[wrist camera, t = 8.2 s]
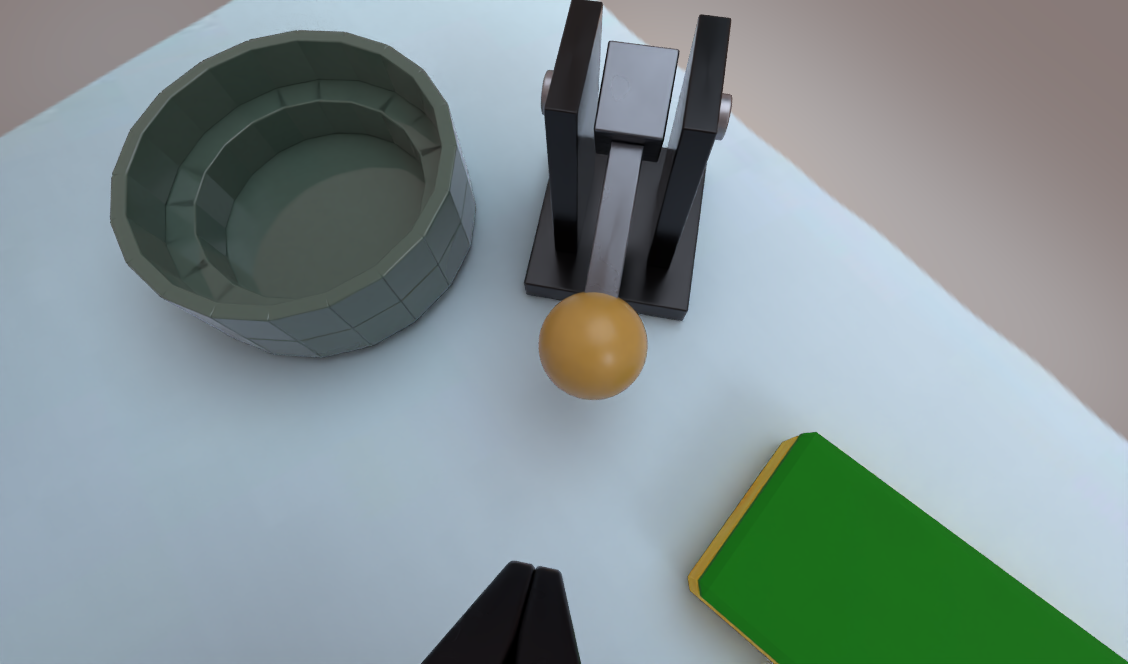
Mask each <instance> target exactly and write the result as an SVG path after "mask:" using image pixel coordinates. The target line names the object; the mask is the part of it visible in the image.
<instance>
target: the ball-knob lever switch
mask: <svg viewBox="0 0 1128 664" xmlns="http://www.w3.org/2000/svg"><path fill="white" fill-rule="evenodd" d="M602 10H603V3H602V2H598V1H590V0H571V4H570V8H569V12H568V16H567V20H566V24H565V28H564V32H563V36H562V39H561V43H560V47H559V51H558V55H557V59H556V63H555V67H554V70H547V72H546V74H545V77H544V81H543V86H542V95H541V110H542V114H543V115H544V116H545V129H546V141H547V154H548V167H549V180H548V184H547V188H546V193H545V197H544V201H543V205H542V209H541V214H540V218H539V222H538V226H537V230H536V235H535V239H534V243H533V247H532V251H531V256H530V260H529V264H528V268H527V272H526V277H525V281H524V285H525V290H526V294H528V295H534V296H539V297H545V298H551V299H557V300H564V299H565V298H567V297H569V296H571V295H574V294H577V293H580V292H585V286H586V280H587V274H588V269H589V263H590V257H591V251H592V246H593V240H594V234H595V228H596V222H597V217H598V211H599V205H600V199H601V194H602V188H603V182H604V176H605V171H606V165H607V159H608V155H603V154H597V153H596V150H595V139H594V129H593V128H594V123H595V117H596V111H597V105H598V92H599V71H600V51H601V31H602ZM730 27H731V18H726V17H718V16H710V15H700V16H699V17H698V22H697V26H696V30H695V34H694V39H693V43H692V47H691V51H690V56H689V60H688V64H687V68H686V72H685V76H684V81H683V85H682V89H681V93H680V97H679V102H678V106H677V110H676V114H675V119H674V123H673V127H672V131H671V135H670V140H669V144H668V148H663V147H662V149H661V152H660V156H659V159H658V162H650V161H643V160H642V164H641V170H640V175H639V181H638V187H637V192H636V198H635V204H634V210H633V215H632V221H631V227H630V232H629V238H628V244H627V249H626V255H625V261H624V267H623V272H622V278H621V284H620V289H619V295H618V297H619V298H620V299H622V300H624V301H625V302H626V303H628V304H629V305H630V306H631V307H632V308H633V309H634V310H635V311H636V313H639V314H645V315H651V316H657V317H663V318H669V319H674V320H680V321H682V320H683V319H684V317H685V315H686V313H687V311H688V305H689V297H690V290H691V282H692V274H693V266H694V259H695V251H696V243H697V235H698V227H699V220H700V212H701V204H702V196H703V189H704V181H705V173H706V165H707V161H708V158H709V155H710V152H711V150H712V147H713V144H714V141H715V140H722V139H723V137H724V135H725V132H726V129H727V125H728V122H729V117H730V113H731V107H732V95H730V94H724V93H722V91H723V84H724V75H725V67H726V59H727V51H728V43H729V35H730Z"/></svg>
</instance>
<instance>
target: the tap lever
mask: <svg viewBox="0 0 1128 664" xmlns="http://www.w3.org/2000/svg"><path fill="white" fill-rule="evenodd" d="M678 58H679V50H678V49H671V48H663V47H655V46H648V45H640V44H632V43H624V42H617V41H609V43H608V47H607V53H606V59H605V65H604V70H603V76H602V82H601V88H600V94H599V99H598V105H597V111H596V117H595V123H594V128H593V129H594V139H595V150H596V153H597V154H603V155H608V159H607V165H606V171H605V176H604V182H603V188H602V194H601V199H600V205H599V211H598V217H597V222H596V228H595V234H594V240H593V246H592V251H591V257H590V263H589V269H588V274H587V280H586V286H585V292H580V293H577V294H574V295H571V296H569V297H567V298H565V299H564V300H562V301H561V302H560V303H558V304H557V305H556V306H555V307H554V308H553V309H552V310H551V311H550V313H549V314H548V315H547V317H546V319H545V321H544V322H543V325H542V328H541V331H540V335H539V343H538V344H539V356H540V360H541V363H542V366H543V368H544V370H545V372H546V374H547V375H548V377H549V378H550V379H551V381H552V382H553V383H554V384H555V385H556V386H557V387H558V388H560V389H561V390H562V391H564V392H566V393H567V394H569V395H572V396H574V397H577V398H581V399H586V400H600V399H606V398H609V397H612V396H615V395H617V394H619V393H621V392H622V391H624V390H625V389H626V388H628V387H629V386H630V385H631V384H632V383H633V382H634V381H635V380H636V378H637V377H638V376H639V374H640V372H641V370H642V369H643V366H644V363H645V360H646V356H647V348H648V347H647V335H646V331H645V328H644V325H643V323H642V321H641V319H640V317H639V316H638V314H637V313H636V311H635V310H634V309H633V308H632V307H631V306H630V305H629V304H628V303H626V302H625V301H624V300H622V299H620V298H619V297H618V295H619V289H620V284H621V278H622V272H623V267H624V261H625V255H626V249H627V244H628V238H629V232H630V227H631V221H632V215H633V210H634V204H635V198H636V192H637V187H638V181H639V175H640V170H641V164H642V160H643V161H650V162H658V159H659V156H660V152H661V149H662V145H663V141H664V137H665V131H666V126H667V120H668V114H669V109H670V103H671V97H672V92H673V86H674V80H675V75H676V69H677V63H678Z"/></svg>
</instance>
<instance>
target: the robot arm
mask: <svg viewBox="0 0 1128 664" xmlns="http://www.w3.org/2000/svg"><path fill="white" fill-rule="evenodd" d="M421 664H581V661H580V657H579V652H578V648H577V643H576V638H575V634H574V629H573V624H572V620H571V615H570V611H569V606H568V601H567V597H566V592H565V587H564V583H563V578H562V574H561V572H560V571H559V570H556V569H552V568H547V567H542V566H538V567H537V568H536V569H535V567H534V566H533V565H532V564H528V563H523V562H519V561H511V562H509V563H508V564H507V565H506V566H505V567H504V569H503V570H502V571H501V572H500V573H499V574H498V575H497V577H496V578H495V579H494V580H493V581H492V582H491V584H490V585H489V586H488V587H487V588H486V589H485V590H484V592H483V593H482V594H481V595H480V596H479V597H478V599H477V600H476V601H475V602H474V603H473V604H472V605H471V607H470V608H469V609H468V610H467V611H466V612H465V614H464V615H463V616H462V617H461V618H460V619H459V620H458V622H457V623H456V624H455V625H454V626H453V627H452V628H451V630H450V631H449V632H448V633H447V634H446V635H445V637H444V638H443V639H442V640H441V641H440V642H439V643H438V645H437V646H436V647H435V648H434V649H433V650H432V652H431V653H430V654H429V655H428V656H427V657H426V658H425V660H424V661H423V662H422V663H421Z"/></svg>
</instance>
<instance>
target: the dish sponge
mask: <svg viewBox="0 0 1128 664" xmlns="http://www.w3.org/2000/svg"><path fill="white" fill-rule="evenodd" d="M688 582H689V589H690V591H691V592H692V593H693V594H694V595H696V596H697V597H698V598H699V599H700V600H701V601H703V602H704V603H705V604H706V605H707V606H708V607H709V608H711V609H712V610H713V611H714V612H715V613H716V614H718V615H719V616H720V617H721V618H722V619H723V620H724V621H726V622H727V623H728V624H729V625H730V626H731V627H733V628H734V629H735V630H736V631H737V632H738V633H739V634H741V635H742V636H743V637H744V638H745V639H746V640H748V641H749V642H750V643H751V644H752V645H753V646H754V647H756V648H757V649H758V650H759V651H760V652H761V653H763V654H764V655H765V656H766V657H767V658H768V659H769V660H771V661H772V662H773V663H774V664H1128V662H1127V661H1126V660H1125V659H1123V658H1122V657H1120V656H1119V655H1118V654H1116V653H1115V652H1114V651H1112V650H1111V649H1110V648H1108V647H1107V646H1106V645H1104V644H1103V643H1101V642H1100V641H1099V640H1097V639H1096V638H1095V637H1093V636H1092V635H1091V634H1089V633H1088V632H1087V631H1085V630H1084V629H1083V628H1081V627H1080V626H1078V625H1077V624H1076V623H1074V622H1073V621H1072V620H1070V619H1069V618H1068V617H1066V616H1065V615H1064V614H1062V613H1061V612H1059V611H1058V610H1057V609H1055V608H1054V607H1053V606H1051V605H1050V604H1049V603H1047V602H1046V601H1045V600H1043V599H1042V598H1040V597H1039V596H1038V595H1036V594H1035V593H1034V592H1032V591H1031V590H1030V589H1028V588H1027V587H1026V586H1024V585H1023V584H1022V583H1020V582H1019V581H1017V580H1016V579H1015V578H1013V577H1012V576H1011V575H1009V574H1008V573H1007V572H1005V571H1004V570H1003V569H1001V568H1000V567H998V566H997V565H996V564H994V563H993V562H992V561H990V560H989V559H988V558H986V557H985V556H984V555H982V554H981V553H979V552H978V551H977V550H975V549H974V548H973V547H971V546H970V545H969V544H967V543H966V542H965V541H963V540H962V539H961V538H959V537H958V536H956V535H955V534H954V533H952V532H951V531H950V530H948V529H947V528H946V527H944V526H943V525H942V524H940V523H939V522H937V521H936V520H935V519H933V518H932V517H931V516H929V515H928V514H927V513H925V512H924V511H923V510H921V509H920V508H918V507H917V506H916V505H914V504H913V503H912V502H910V501H909V500H908V499H906V498H905V497H904V496H902V495H901V494H900V493H898V492H897V491H895V490H894V489H893V488H891V487H890V486H889V485H887V484H886V483H885V482H883V481H882V480H881V479H879V478H878V477H876V476H875V475H874V474H872V473H871V472H870V471H868V470H867V469H866V468H864V467H863V466H862V465H860V464H859V463H857V462H856V461H855V460H853V459H852V458H851V457H849V456H848V455H847V454H845V453H844V452H843V451H841V450H840V449H839V448H837V447H836V446H834V445H833V444H832V443H830V442H829V441H828V440H826V439H825V438H824V437H822V436H821V435H820V434H818V433H817V432H812V433H803V434H800V435H799V436H796V437H793V438H791V439H789V440H786V441H784V442H782V443H781V445H780V446H779V448H778V449H777V451H776V452H775V453H774V455H773V456H772V458H771V459H770V460H769V462H768V463H767V465H766V466H765V468H764V469H763V470H762V472H761V473H760V475H759V476H758V477H757V479H756V480H755V482H754V483H753V485H752V486H751V487H750V489H749V490H748V492H747V493H746V494H745V496H744V497H743V499H742V500H741V501H740V503H739V504H738V506H737V507H736V509H735V510H734V511H733V513H732V514H731V516H730V517H729V518H728V520H727V521H726V523H725V524H724V526H723V527H722V528H721V530H720V531H719V533H718V534H717V535H716V537H715V538H714V540H713V541H712V542H711V544H710V545H709V547H708V548H707V550H706V551H705V552H704V554H703V555H702V557H701V558H700V559H699V561H698V562H697V564H696V565H695V567H694V568H693V569H692V571H691V572H690V574H689V575H688Z"/></svg>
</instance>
